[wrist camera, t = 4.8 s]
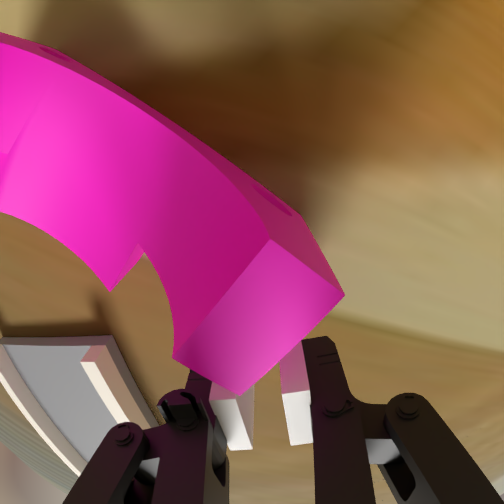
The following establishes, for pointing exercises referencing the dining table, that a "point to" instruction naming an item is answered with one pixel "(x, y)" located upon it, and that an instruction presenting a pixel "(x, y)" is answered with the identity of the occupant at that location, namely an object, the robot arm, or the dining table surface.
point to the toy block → (159, 213)
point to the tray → (72, 391)
